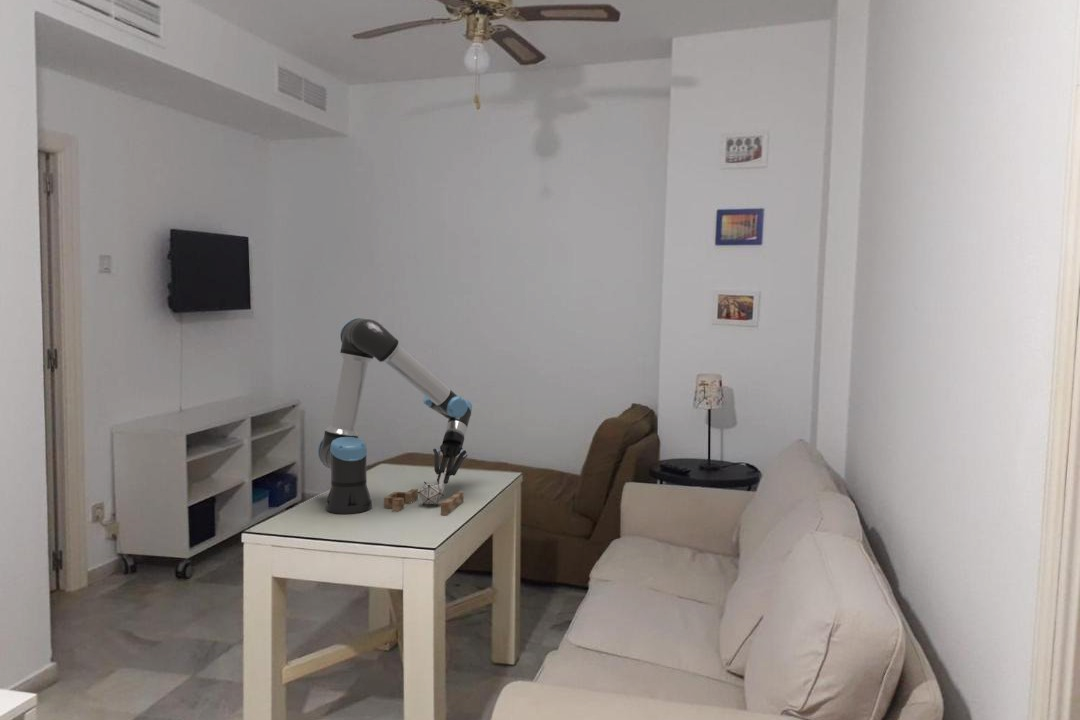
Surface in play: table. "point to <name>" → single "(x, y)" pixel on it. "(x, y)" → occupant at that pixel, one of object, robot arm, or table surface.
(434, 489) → the game die
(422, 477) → the table surface
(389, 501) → the wooden blocks
